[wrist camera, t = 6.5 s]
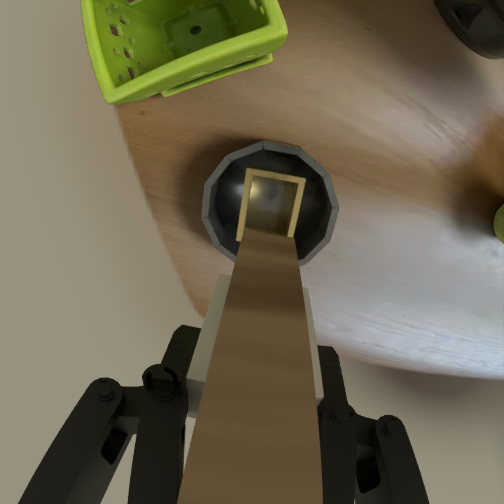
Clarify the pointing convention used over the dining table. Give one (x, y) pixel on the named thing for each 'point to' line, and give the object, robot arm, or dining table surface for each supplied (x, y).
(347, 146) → the dining table surface
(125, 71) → the flower pot
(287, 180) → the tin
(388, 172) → the dining table surface
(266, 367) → the wooden slab
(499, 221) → the plant pot
